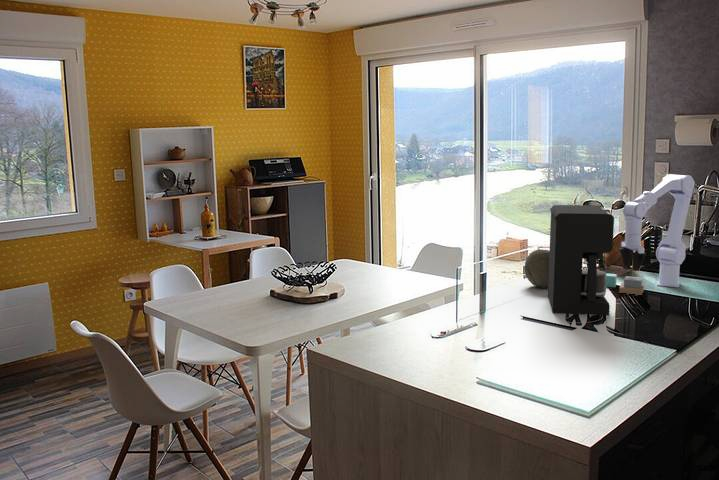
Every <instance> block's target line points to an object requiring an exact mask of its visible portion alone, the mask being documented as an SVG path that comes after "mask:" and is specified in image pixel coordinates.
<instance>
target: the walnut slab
mask: <svg viewBox="0 0 719 480" xmlns="http://www.w3.org/2000/svg"><path fill="white" fill-rule="evenodd" d="M644 289H645V285H644V284H642V286H641V289H640V288H629V287H624V282H621V283H620V286H619V291H618V293H628V294H636V295H635V296H638V295H642V296H643V294H644ZM642 293H643V294H642ZM628 294H627V295H628Z"/></svg>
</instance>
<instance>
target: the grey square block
mask: <svg viewBox="0 0 719 480" xmlns="http://www.w3.org/2000/svg"><path fill="white" fill-rule="evenodd" d="M623 279H624V280H623V283H624V287H629V288H640V289H641V286H642V285H643V277H639V276H628V275H627V276H624V278H623Z"/></svg>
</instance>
